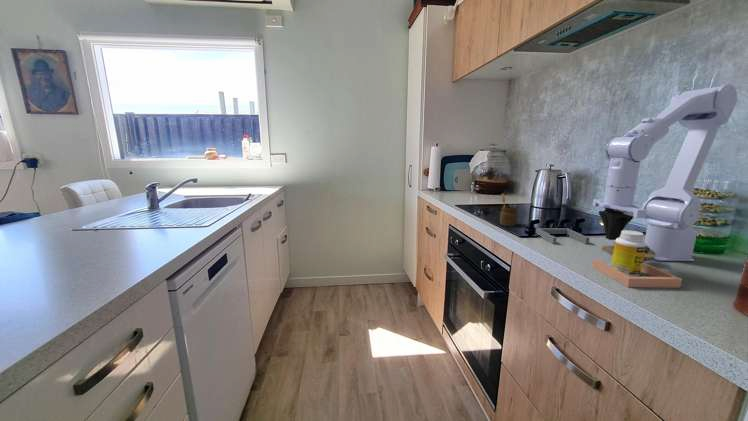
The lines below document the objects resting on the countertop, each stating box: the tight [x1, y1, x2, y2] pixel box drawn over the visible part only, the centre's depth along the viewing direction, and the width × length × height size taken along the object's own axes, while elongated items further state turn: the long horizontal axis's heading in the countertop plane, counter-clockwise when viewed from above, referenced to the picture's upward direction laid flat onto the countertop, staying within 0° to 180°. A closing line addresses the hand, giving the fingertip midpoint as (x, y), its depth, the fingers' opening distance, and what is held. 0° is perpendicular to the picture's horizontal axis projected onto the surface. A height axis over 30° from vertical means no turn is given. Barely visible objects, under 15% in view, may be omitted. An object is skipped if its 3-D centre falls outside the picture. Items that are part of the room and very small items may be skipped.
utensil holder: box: [499, 192, 518, 227], centre depth 114 cm, size 6×6×12 cm
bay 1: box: [534, 227, 590, 245], centre depth 96 cm, size 11×11×2 cm
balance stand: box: [601, 245, 648, 261], centre depth 81 cm, size 6×8×6 cm
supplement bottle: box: [610, 229, 646, 277], centre depth 69 cm, size 6×6×10 cm
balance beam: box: [598, 219, 655, 259], centre depth 81 cm, size 5×18×2 cm, turn 178°
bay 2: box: [591, 258, 683, 289], centre depth 68 cm, size 11×11×2 cm
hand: (611, 239), depth 75 cm, fingers closed
